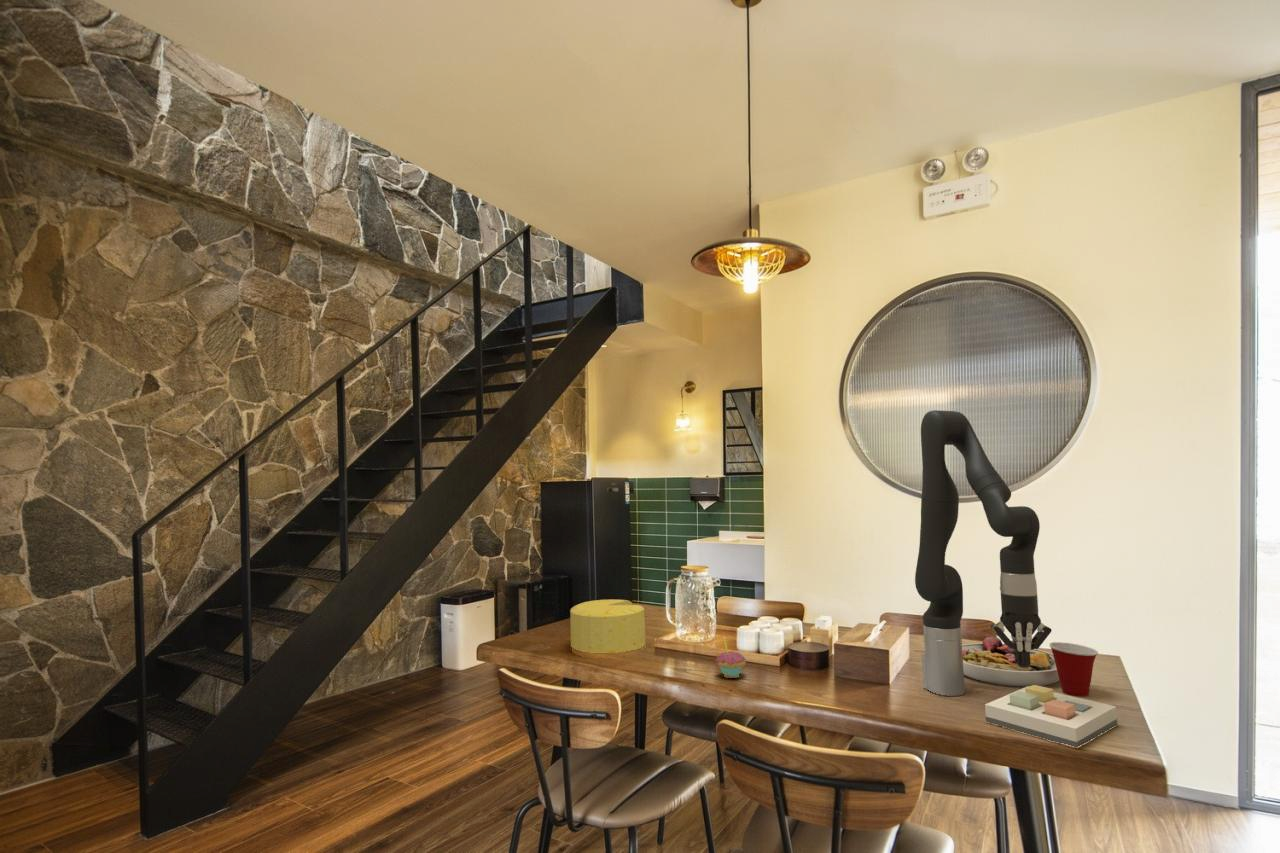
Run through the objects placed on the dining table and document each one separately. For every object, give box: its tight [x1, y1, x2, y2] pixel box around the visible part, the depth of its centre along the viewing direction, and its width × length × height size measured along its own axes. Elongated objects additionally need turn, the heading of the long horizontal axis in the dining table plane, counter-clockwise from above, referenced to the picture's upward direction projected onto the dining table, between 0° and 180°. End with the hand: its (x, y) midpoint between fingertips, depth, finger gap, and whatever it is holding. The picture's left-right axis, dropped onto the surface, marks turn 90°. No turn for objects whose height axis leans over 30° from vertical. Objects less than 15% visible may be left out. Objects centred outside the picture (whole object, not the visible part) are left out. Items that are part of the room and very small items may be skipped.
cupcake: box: [715, 634, 747, 676], centre depth 193 cm, size 9×8×12 cm
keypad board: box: [984, 686, 1118, 747], centre depth 151 cm, size 19×21×4 cm
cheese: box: [569, 598, 646, 653], centre depth 229 cm, size 26×26×15 cm
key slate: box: [1066, 701, 1090, 712], centre depth 150 cm, size 4×4×2 cm
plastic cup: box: [1049, 641, 1099, 698], centre depth 171 cm, size 11×11×12 cm
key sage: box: [1010, 690, 1039, 710], centre depth 152 cm, size 4×4×2 cm
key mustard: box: [1024, 685, 1055, 703], centre depth 156 cm, size 4×4×2 cm
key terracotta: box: [1044, 699, 1076, 720], centre depth 146 cm, size 4×4×2 cm
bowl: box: [962, 635, 1060, 688], centre depth 190 cm, size 30×30×8 cm
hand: (1023, 666), depth 153 cm, fingers closed
